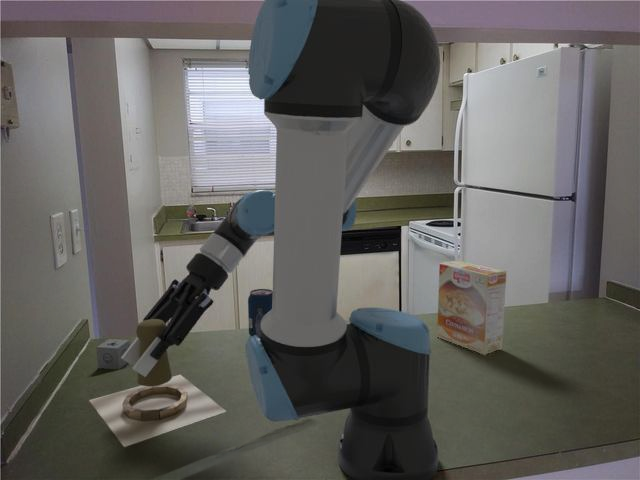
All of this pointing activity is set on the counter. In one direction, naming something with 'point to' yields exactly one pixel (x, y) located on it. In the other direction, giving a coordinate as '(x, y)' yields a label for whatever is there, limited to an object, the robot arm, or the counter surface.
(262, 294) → the soda can
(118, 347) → the dice cube
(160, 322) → the cork
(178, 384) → the board
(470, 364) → the counter surface
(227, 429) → the counter surface
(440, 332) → the coffeecake box
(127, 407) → the collar
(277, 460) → the counter surface
